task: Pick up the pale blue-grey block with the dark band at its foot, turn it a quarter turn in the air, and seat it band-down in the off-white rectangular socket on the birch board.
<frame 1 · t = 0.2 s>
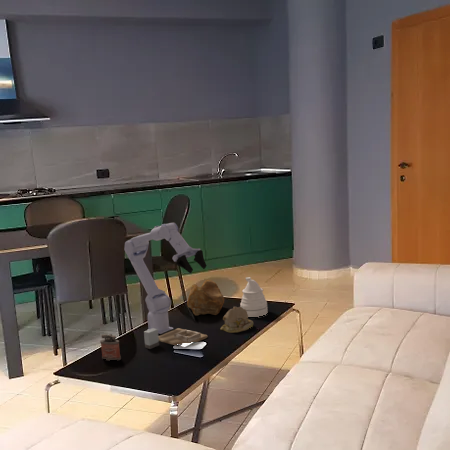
hand: (198, 269, 229), 31 cm above the table, tool tilted 45°, fingers open, 7 cm apart
honey pot: (254, 314, 267), on the table
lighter: (111, 359, 222), on the table
peg: (152, 346, 233), on the table
birch board: (181, 338, 239), on the table
rough brown rock: (209, 312, 274), on the table
ceramic model: (236, 328, 249), on the table
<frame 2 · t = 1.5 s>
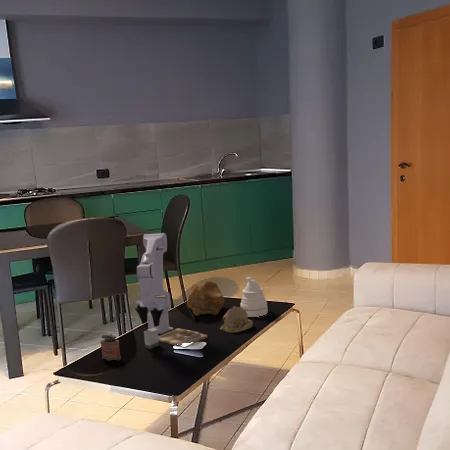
hand: (150, 324, 231), 10 cm above the table, tool pointing down, fingers open, 7 cm apart
nothing on the table moved.
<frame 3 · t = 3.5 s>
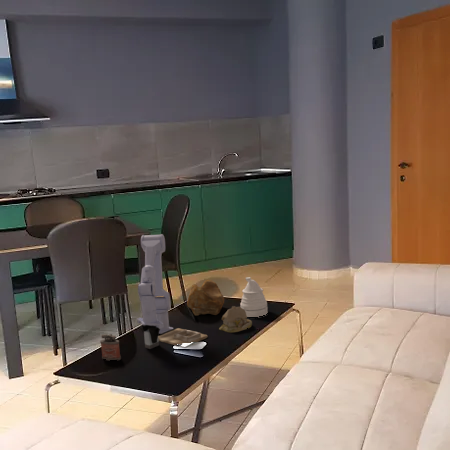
hand: (151, 342, 232), 2 cm above the table, tool pointing down, fingers closed on peg, 3 cm apart
peg: (152, 346, 233), on the table, touching gripper
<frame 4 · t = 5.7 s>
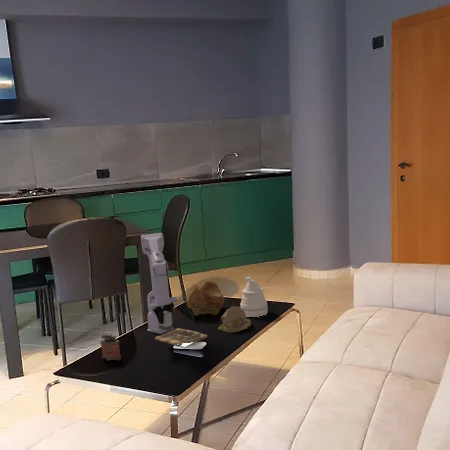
hand: (164, 322, 233), 9 cm above the table, tool pointing down, fingers closed on peg, 3 cm apart
peg: (165, 328, 233), point 7 cm above the table, touching gripper
when the fingers open (4 cm above the table, at t = 7.9 s): peg stays where it is, resting on birch board.
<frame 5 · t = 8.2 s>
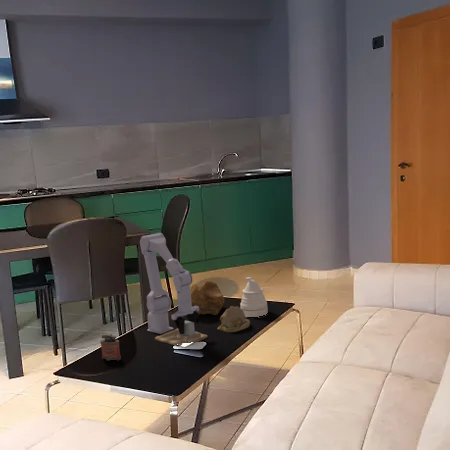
hand: (187, 331, 236), 4 cm above the table, tool pointing down, fingers open, 6 cm apart
peg: (188, 338, 236), point 1 cm above the table, touching birch board
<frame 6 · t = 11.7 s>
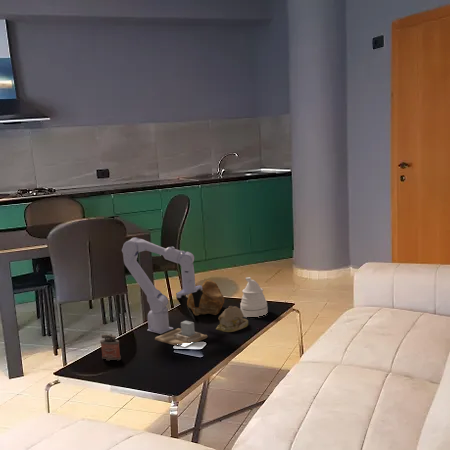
hand: (190, 309, 249), 9 cm above the table, tool pointing down, fingers open, 7 cm apart
at the end: peg 0.6 cm from the target spot on the birch board, point 1.0 cm above the birch board's base; peg tilted 0°; the gripper is holding nothing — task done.
